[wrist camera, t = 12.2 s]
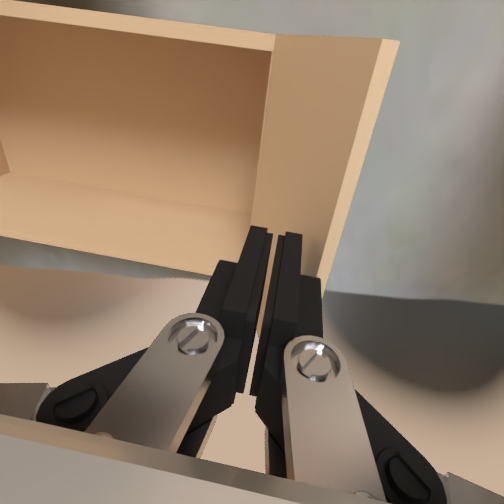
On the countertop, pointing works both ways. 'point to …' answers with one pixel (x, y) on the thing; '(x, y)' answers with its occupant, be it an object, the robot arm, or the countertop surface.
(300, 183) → the flap
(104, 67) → the carton
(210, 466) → the robot arm
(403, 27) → the countertop surface
